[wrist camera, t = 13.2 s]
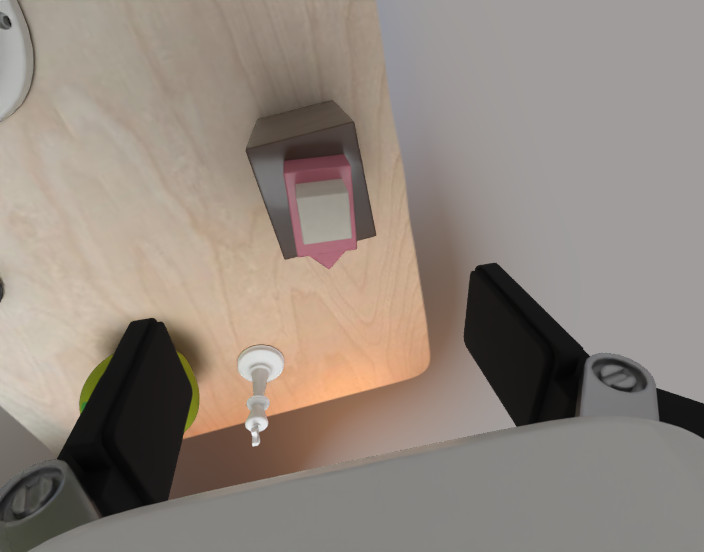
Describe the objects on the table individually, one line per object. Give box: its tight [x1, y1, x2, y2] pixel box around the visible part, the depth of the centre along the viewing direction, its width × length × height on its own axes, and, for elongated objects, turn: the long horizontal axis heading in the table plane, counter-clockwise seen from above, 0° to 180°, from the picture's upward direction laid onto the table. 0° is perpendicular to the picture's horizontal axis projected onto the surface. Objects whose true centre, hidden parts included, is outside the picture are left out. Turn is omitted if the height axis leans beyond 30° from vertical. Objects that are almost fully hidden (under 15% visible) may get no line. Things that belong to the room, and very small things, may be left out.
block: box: [246, 100, 376, 260], centre depth 26 cm, size 7×6×10 cm
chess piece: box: [237, 345, 284, 446], centre depth 36 cm, size 5×5×10 cm
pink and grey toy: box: [283, 154, 357, 269], centre depth 20 cm, size 6×3×5 cm, turn 4°
